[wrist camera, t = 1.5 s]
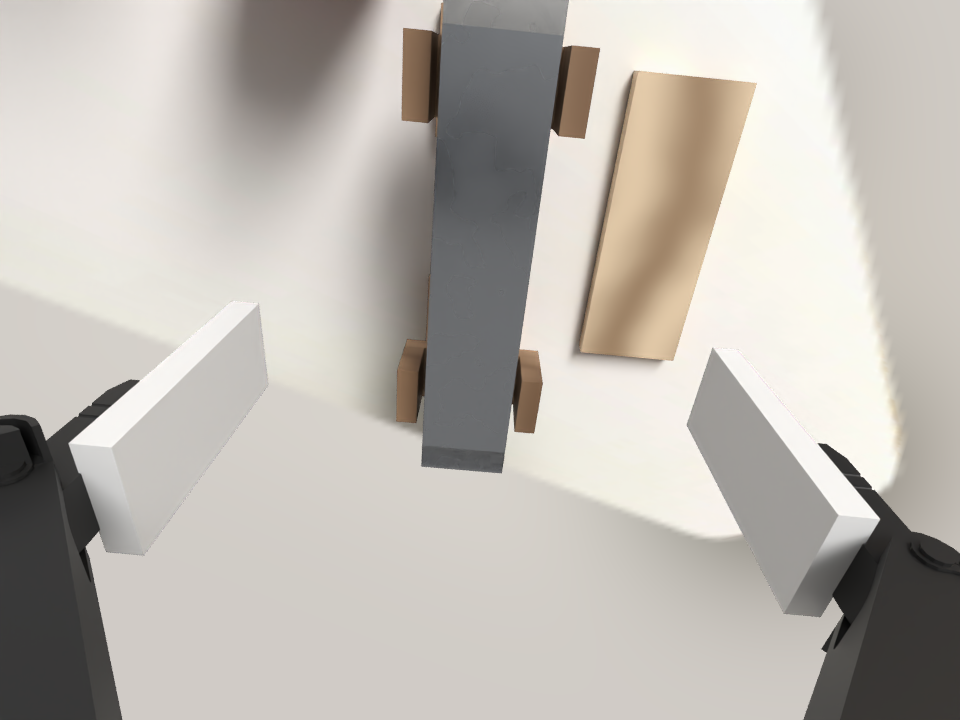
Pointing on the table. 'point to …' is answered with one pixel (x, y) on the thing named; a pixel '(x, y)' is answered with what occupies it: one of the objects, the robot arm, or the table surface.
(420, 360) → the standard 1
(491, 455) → the rail
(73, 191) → the table surface
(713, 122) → the light wooden board
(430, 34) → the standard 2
